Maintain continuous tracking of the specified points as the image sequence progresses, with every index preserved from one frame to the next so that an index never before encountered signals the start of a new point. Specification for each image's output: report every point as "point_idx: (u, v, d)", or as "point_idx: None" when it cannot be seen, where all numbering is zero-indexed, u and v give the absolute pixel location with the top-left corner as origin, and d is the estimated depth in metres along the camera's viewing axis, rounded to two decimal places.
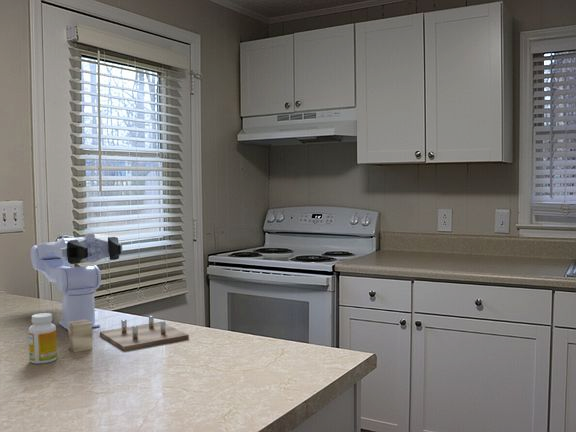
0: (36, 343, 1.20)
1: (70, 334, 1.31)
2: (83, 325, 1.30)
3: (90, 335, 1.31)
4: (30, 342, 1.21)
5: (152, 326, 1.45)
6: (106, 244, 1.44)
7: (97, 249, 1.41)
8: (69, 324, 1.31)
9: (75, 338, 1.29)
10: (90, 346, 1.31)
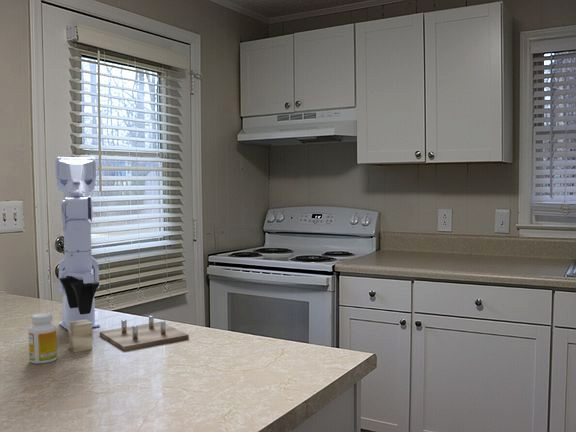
0: (36, 343, 1.20)
1: (70, 334, 1.31)
2: (83, 325, 1.30)
3: (91, 335, 1.31)
4: (30, 342, 1.21)
5: (152, 326, 1.45)
6: None
7: None
8: (69, 324, 1.31)
9: (75, 338, 1.29)
10: (90, 346, 1.31)
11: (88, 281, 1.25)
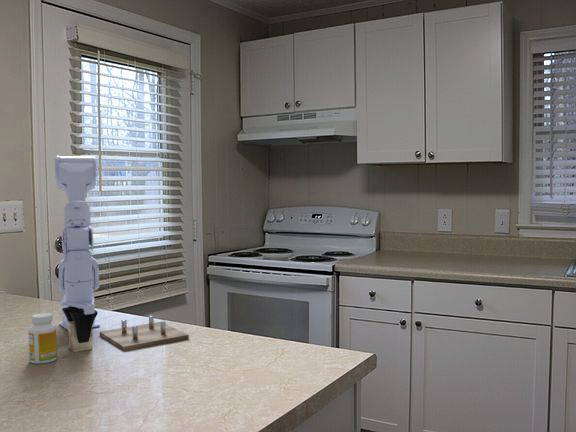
0: (36, 343, 1.20)
1: (70, 334, 1.31)
2: None
3: (90, 335, 1.31)
4: (30, 342, 1.21)
5: (152, 326, 1.45)
6: None
7: None
8: (69, 324, 1.31)
9: (75, 338, 1.29)
10: (90, 346, 1.31)
11: (89, 312, 1.25)
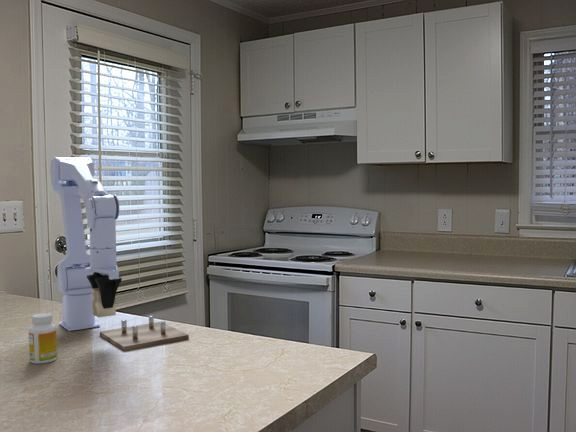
0: (36, 343, 1.20)
1: (94, 300, 1.34)
2: None
3: (114, 301, 1.34)
4: (30, 342, 1.21)
5: (152, 326, 1.45)
6: (104, 272, 1.30)
7: None
8: (93, 290, 1.34)
9: (99, 304, 1.32)
10: (113, 312, 1.34)
11: (114, 277, 1.28)
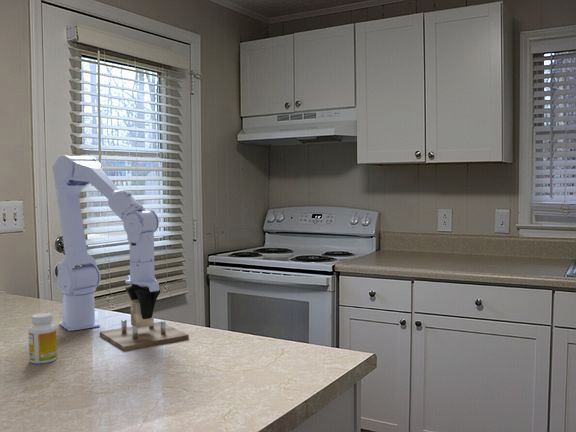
0: (36, 343, 1.20)
1: (132, 311, 1.39)
2: None
3: None
4: (30, 342, 1.21)
5: (152, 326, 1.45)
6: None
7: None
8: (131, 302, 1.40)
9: (138, 315, 1.38)
10: (151, 323, 1.40)
11: (154, 289, 1.34)
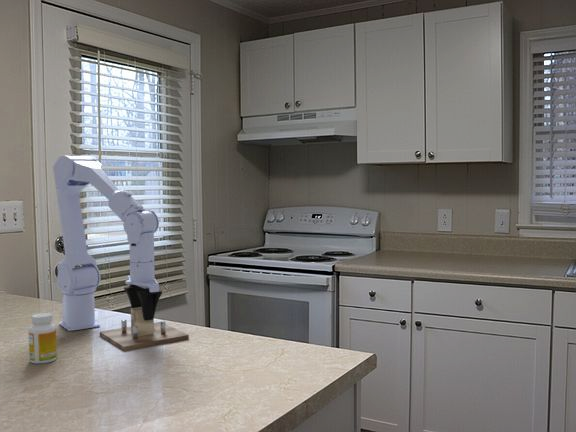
0: (36, 343, 1.20)
1: (133, 320, 1.40)
2: None
3: (152, 321, 1.40)
4: (30, 342, 1.21)
5: None
6: None
7: None
8: (132, 310, 1.40)
9: (138, 323, 1.38)
10: (151, 331, 1.40)
11: (154, 290, 1.34)
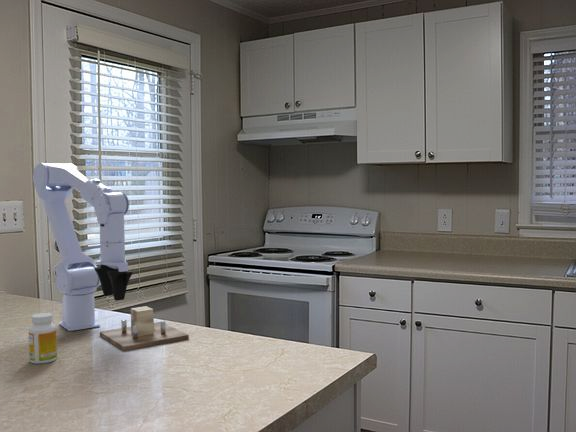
0: (36, 343, 1.20)
1: (133, 320, 1.40)
2: (145, 311, 1.39)
3: (152, 321, 1.40)
4: (30, 342, 1.21)
5: None
6: None
7: None
8: (132, 310, 1.40)
9: (138, 323, 1.38)
10: (151, 331, 1.40)
11: (123, 269, 1.36)
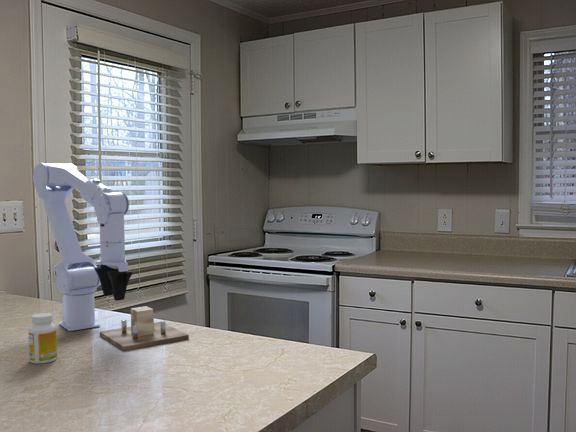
0: (36, 343, 1.20)
1: (133, 320, 1.40)
2: (145, 311, 1.39)
3: (152, 321, 1.40)
4: (30, 342, 1.21)
5: None
6: None
7: None
8: (132, 310, 1.40)
9: (138, 323, 1.38)
10: (151, 331, 1.40)
11: (123, 269, 1.36)
